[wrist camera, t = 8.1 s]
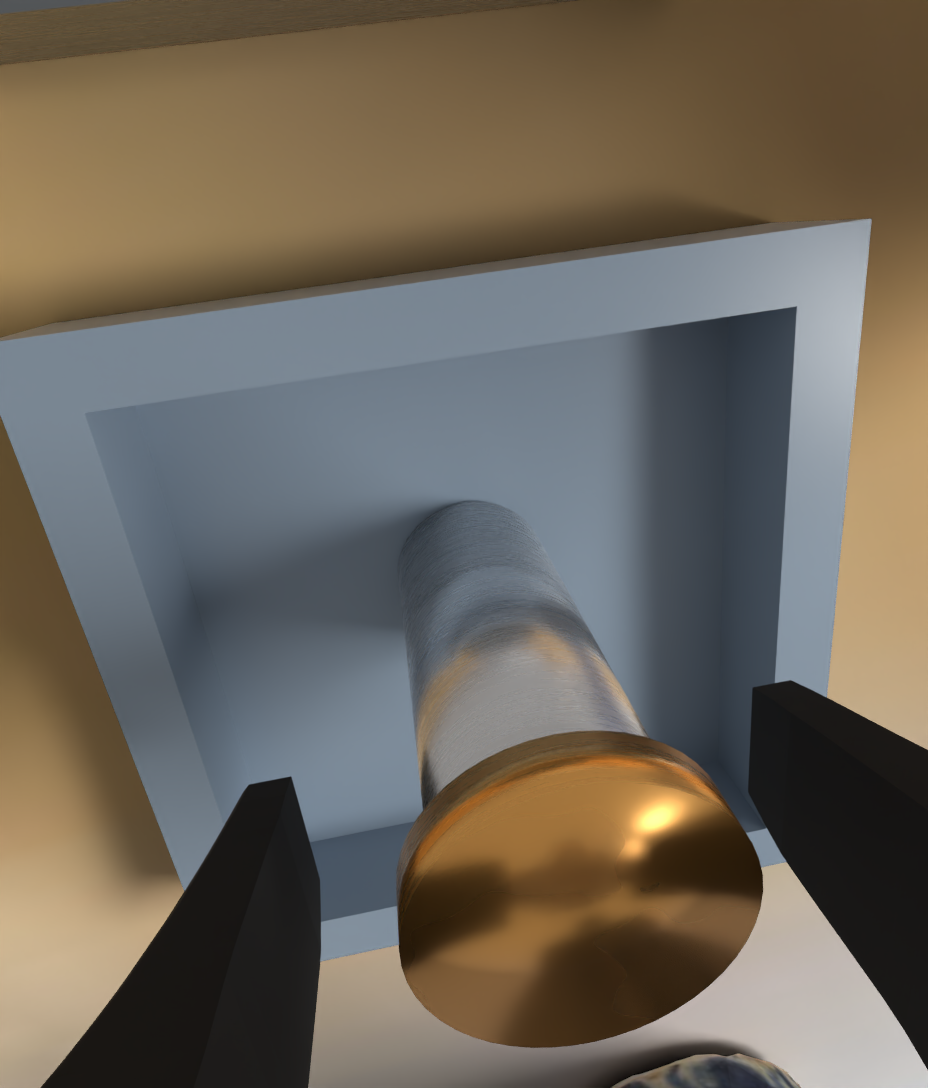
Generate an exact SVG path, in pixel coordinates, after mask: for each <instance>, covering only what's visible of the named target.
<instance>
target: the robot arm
mask: <svg viewBox="0 0 928 1088" xmlns="http://www.w3.org/2000/svg"><path fill="white" fill-rule="evenodd" d="M748 793H749V795H750V797H751V799H752V801H753V803H754V805H755V807H756V809H757V810H758V812H759V814H760V816H761V818H762V820H763V822H764V824H765V826H766V828H767V829H768V831H769V833H770V835H771V837H772V838H773V840H774V842H775V844H776V845H777V847H778V849H779V851H780V853H781V854H782V856H783V857H784V859H785V860H786V862H787V863H788V864H789V866H790V867H791V869H792V870H793V872H794V873H795V875H796V876H797V877H798V879H799V880H800V882H801V883H802V885H803V886H804V887H805V889H806V890H807V892H808V893H809V895H810V896H811V897H812V899H813V900H814V902H815V903H816V905H817V906H818V907H819V909H820V910H821V912H822V913H823V914H824V916H825V917H826V919H827V920H828V921H829V923H830V924H831V926H832V927H833V928H834V930H835V931H836V933H837V934H838V935H839V937H840V938H841V940H842V941H843V942H844V944H845V945H846V947H847V948H848V949H849V951H850V952H851V954H852V955H853V956H854V958H855V959H856V961H857V962H858V963H859V965H860V966H861V968H862V969H863V970H864V972H865V973H866V975H867V976H868V977H869V979H870V980H871V982H872V983H873V984H874V986H875V987H876V989H877V990H878V991H879V993H880V994H881V996H882V997H883V999H884V1000H885V1002H886V1003H887V1005H888V1006H889V1008H890V1009H891V1011H892V1012H893V1014H894V1015H895V1017H896V1018H897V1020H898V1021H899V1023H900V1024H901V1026H902V1027H903V1029H904V1030H905V1032H906V1034H907V1035H908V1037H909V1039H910V1041H911V1042H912V1044H913V1046H914V1047H915V1049H916V1051H917V1052H918V1054H919V1056H920V1057H921V1059H922V1061H923V1063H924V1064H925V1066H926V1068H927V1069H928V750H927V749H925V748H923V747H921V746H919V745H917V744H915V743H913V742H911V741H909V740H907V739H905V738H903V737H901V736H899V735H897V734H895V733H893V732H891V731H889V730H888V729H886V728H884V727H882V726H880V725H878V724H876V723H874V722H872V721H870V720H868V719H867V718H865V717H863V716H861V715H859V714H857V713H855V712H853V711H851V710H849V709H847V708H846V707H844V706H842V705H840V704H838V703H836V702H834V701H832V700H830V699H828V698H826V697H825V696H823V695H821V694H819V693H817V692H815V691H813V690H811V689H809V688H807V687H805V686H802V685H800V684H798V683H796V682H794V681H792V680H788V681H783V682H778V683H773V684H768V685H762V686H757V687H752V710H751V732H750V755H749V778H748ZM320 958H321V896H320V877H319V874H318V870H317V866H316V863H315V859H314V856H313V852H312V848H311V845H310V841H309V838H308V834H307V831H306V827H305V823H304V820H303V816H302V813H301V809H300V806H299V802H298V798H297V795H296V791H295V788H294V784H293V780H292V777H291V776H290V777H285V778H280V779H275V780H269V781H264V782H259V783H254V784H249V785H248V786H247V788H246V789H245V790H244V792H243V793H242V795H241V797H240V798H239V800H238V802H237V804H236V805H235V807H234V809H233V811H232V813H231V814H230V816H229V818H228V820H227V821H226V823H225V825H224V827H223V828H222V830H221V832H220V834H219V835H218V837H217V839H216V841H215V842H214V844H213V846H212V847H211V849H210V851H209V852H208V854H207V856H206V857H205V859H204V861H203V862H202V864H201V866H200V867H199V869H198V871H197V872H196V874H195V875H194V877H193V879H192V880H191V882H190V883H189V885H188V887H187V888H186V890H185V891H184V893H183V895H182V896H181V898H180V899H179V901H178V903H177V904H176V906H175V907H174V909H173V911H172V912H171V914H170V915H169V917H168V918H167V920H166V921H165V923H164V924H163V926H162V927H161V929H160V930H159V932H158V933H157V935H156V936H155V937H154V939H153V940H152V942H151V943H150V945H149V946H148V948H147V949H146V951H145V952H144V953H143V955H142V956H141V958H140V959H139V961H138V962H137V964H136V965H135V966H134V968H133V969H132V971H131V972H130V974H129V975H128V977H127V978H126V979H125V981H124V982H123V984H122V985H121V986H120V988H119V989H118V990H117V992H116V993H115V994H114V996H113V997H112V999H111V1000H110V1001H109V1003H108V1004H107V1005H106V1007H105V1008H104V1009H103V1011H102V1012H101V1013H100V1015H99V1016H98V1017H97V1018H96V1020H95V1021H94V1022H93V1024H92V1025H91V1026H90V1028H89V1029H88V1030H87V1031H86V1033H85V1034H84V1035H83V1036H82V1038H81V1039H80V1040H79V1041H78V1043H77V1044H76V1045H75V1046H74V1048H73V1049H72V1050H71V1051H70V1053H69V1054H68V1055H67V1056H66V1058H65V1059H64V1060H63V1061H62V1063H61V1064H60V1065H59V1066H58V1068H57V1069H56V1070H55V1071H54V1072H53V1074H52V1075H51V1076H50V1077H49V1078H48V1079H47V1081H46V1082H45V1083H44V1084H43V1085H42V1086H41V1088H308V1083H309V1073H310V1063H311V1052H312V1042H313V1032H314V1022H315V1012H316V1001H317V991H318V980H319V970H320Z"/></svg>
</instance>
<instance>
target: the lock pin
mask: <svg viewBox="0 0 928 1088" xmlns="http://www.w3.org/2000/svg"><path fill="white" fill-rule="evenodd" d="M398 580H399V590H400V599H401V608H402V618H403V627H404V637H405V646H406V655H407V665H408V674H409V684H410V693H411V702H412V712H413V721H414V731H415V740H416V749H417V759H418V768H419V778H420V787H421V796H422V806H423V811H422V812H421V814H420V815H419V816H418V817H417V819H416V821H415V822H414V824H413V826H412V828H411V829H410V831H409V833H408V834H407V837H406V839H405V842H404V844H403V847H402V849H401V852H400V856H399V861H398V865H397V870H396V899H397V918H398V937H399V952H400V959H401V966H402V969H403V972H404V975H405V978H406V980H407V983H408V985H409V986H410V988H411V990H412V991H413V993H414V995H415V996H416V998H417V999H418V1000H419V1001H420V1002H421V1003H422V1005H423V1006H424V1007H425V1008H426V1009H427V1010H428V1011H429V1012H431V1013H432V1014H433V1015H434V1016H435V1017H437V1018H438V1019H439V1020H440V1021H442V1022H444V1023H445V1024H447V1025H449V1026H450V1027H452V1028H454V1029H455V1030H458V1031H460V1032H462V1033H465V1034H467V1035H469V1036H472V1037H475V1038H478V1039H481V1040H485V1041H488V1042H492V1043H497V1044H503V1045H508V1046H518V1047H530V1048H540V1047H562V1046H572V1045H578V1044H584V1043H590V1042H595V1041H599V1040H603V1039H606V1038H610V1037H614V1036H617V1035H620V1034H623V1033H626V1032H629V1031H632V1030H635V1029H637V1028H640V1027H642V1026H644V1025H646V1024H649V1023H651V1022H653V1021H656V1020H658V1019H659V1018H661V1017H663V1016H665V1015H667V1014H669V1013H670V1012H672V1011H674V1010H676V1009H677V1008H679V1007H681V1006H682V1005H684V1004H685V1003H687V1002H688V1001H690V1000H691V999H693V998H694V997H695V996H697V995H698V994H699V993H700V992H702V991H703V990H704V989H705V988H707V987H708V986H709V985H710V984H711V983H712V982H713V981H714V980H716V979H717V978H718V977H719V976H720V975H721V974H722V973H723V972H724V971H725V970H726V968H727V967H728V966H729V965H730V964H731V962H732V961H733V960H734V959H735V958H736V957H737V955H738V954H739V952H740V951H741V949H742V948H743V946H744V945H745V943H746V942H747V940H748V938H749V936H750V934H751V932H752V930H753V928H754V925H755V923H756V920H757V917H758V914H759V911H760V907H761V900H762V894H763V875H762V870H761V865H760V861H759V857H758V855H757V853H756V850H755V848H754V846H753V843H752V842H751V840H750V839H749V837H748V835H747V834H746V832H745V831H744V829H743V827H742V826H741V824H740V823H739V821H738V820H737V818H736V816H735V815H734V813H733V812H732V810H731V808H730V807H729V805H728V804H727V802H726V800H725V799H724V797H723V796H722V794H721V792H720V791H719V789H718V788H717V786H716V785H715V783H714V782H713V780H712V779H711V778H710V776H709V775H708V774H707V773H706V772H705V771H704V770H703V769H702V768H701V767H700V766H699V765H698V764H697V763H696V762H695V761H693V760H692V759H691V758H689V757H688V756H686V755H685V754H684V753H682V752H680V751H679V750H677V749H675V748H673V747H671V746H669V745H667V744H665V743H662V742H659V741H656V740H653V739H650V737H649V736H648V734H647V732H646V730H645V728H644V727H643V725H642V723H641V721H640V719H639V718H638V716H637V714H636V712H635V710H634V709H633V707H632V705H631V703H630V701H629V700H628V698H627V696H626V694H625V692H624V691H623V689H622V687H621V685H620V684H619V682H618V680H617V678H616V676H615V675H614V673H613V671H612V669H611V667H610V666H609V664H608V662H607V660H606V658H605V657H604V655H603V653H602V651H601V649H600V648H599V646H598V644H597V642H596V641H595V639H594V637H593V635H592V633H591V632H590V630H589V628H588V626H587V624H586V623H585V621H584V619H583V617H582V615H581V614H580V612H579V610H578V608H577V606H576V605H575V603H574V601H573V599H572V597H571V596H570V594H569V592H568V590H567V589H566V587H565V585H564V583H563V581H562V580H561V578H560V576H559V574H558V572H557V571H556V569H555V567H554V565H553V563H552V562H551V560H550V558H549V556H548V554H547V553H546V551H545V549H544V547H543V545H542V544H541V542H540V540H539V538H538V537H537V535H536V533H535V532H534V530H533V529H532V527H531V526H530V525H529V524H528V523H527V522H526V520H525V519H523V518H522V517H521V516H520V515H518V514H517V513H515V512H514V511H512V510H510V509H508V508H506V507H504V506H501V505H498V504H494V503H490V502H483V501H470V502H461V503H457V504H453V505H450V506H447V507H444V508H442V509H440V510H438V511H436V512H434V513H433V514H431V515H430V516H428V517H427V518H425V519H424V520H423V521H422V522H421V523H420V524H419V525H418V526H417V527H416V528H415V529H414V530H413V531H412V533H411V534H410V536H409V537H408V539H407V540H406V542H405V544H404V546H403V548H402V551H401V554H400V558H399V564H398Z"/></svg>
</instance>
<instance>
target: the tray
mask: <svg viewBox="0 0 928 1088" xmlns="http://www.w3.org/2000/svg"><path fill="white" fill-rule="evenodd" d="M871 222H872V219H848V220H822V221H796V222H773V223H766V224H759V225H751V226H744V227H737V228H730V229H723V230H716V231H708V232H701V233H694V234H687V235H680V236H673V237H665V238H658V239H651V240H644V241H637V242H630V243H622V244H615V245H608V246H601V247H594V248H587V249H580V250H572V251H565V252H558V253H551V254H544V255H537V256H529V257H522V258H515V259H508V260H501V261H494V262H486V263H479V264H472V265H465V266H458V267H451V268H444V269H436V270H429V271H422V272H415V273H408V274H401V275H393V276H386V277H379V278H372V279H365V280H358V281H350V282H343V283H336V284H329V285H322V286H315V287H307V288H300V289H293V290H286V291H279V292H272V293H265V294H257V295H250V296H243V297H236V298H229V299H222V300H214V301H207V302H200V303H193V304H186V305H179V306H171V307H164V308H157V309H150V310H143V311H136V312H128V313H121V314H114V315H107V316H100V317H93V318H86V319H78V320H71V321H64V322H57V323H50V324H47V325H43V326H40V327H36V328H33V329H29V330H25V331H22V332H18V333H15V334H11V335H8V336H4V337H0V416H1V418H2V421H3V423H4V426H5V429H6V431H7V434H8V436H9V439H10V442H11V444H12V447H13V449H14V452H15V454H16V457H17V460H18V462H19V465H20V467H21V470H22V473H23V475H24V478H25V480H26V483H27V486H28V488H29V491H30V493H31V496H32V498H33V501H34V504H35V506H36V509H37V511H38V514H39V517H40V519H41V522H42V524H43V527H44V530H45V532H46V535H47V537H48V540H49V542H50V545H51V548H52V550H53V553H54V555H55V558H56V561H57V563H58V566H59V568H60V571H61V574H62V576H63V579H64V581H65V584H66V586H67V589H68V592H69V594H70V597H71V599H72V602H73V605H74V607H75V610H76V612H77V615H78V617H79V620H80V623H81V625H82V628H83V630H84V633H85V636H86V638H87V641H88V643H89V646H90V649H91V651H92V654H93V656H94V659H95V661H96V664H97V667H98V669H99V672H100V674H101V677H102V680H103V682H104V685H105V687H106V690H107V693H108V695H109V698H110V700H111V703H112V705H113V708H114V711H115V713H116V716H117V718H118V721H119V724H120V726H121V729H122V731H123V734H124V737H125V739H126V742H127V744H128V747H129V749H130V752H131V755H132V757H133V760H134V762H135V765H136V768H137V770H138V773H139V775H140V778H141V781H142V783H143V786H144V788H145V791H146V793H147V796H148V799H149V801H150V804H151V806H152V809H153V812H154V814H155V817H156V819H157V822H158V824H159V827H160V830H161V832H162V835H163V837H164V840H165V843H166V845H167V848H168V850H169V853H170V856H171V858H172V861H173V863H174V866H175V868H176V871H177V874H178V876H179V879H180V881H181V884H182V887H183V889H184V891H185V890H186V888H187V887H188V885H189V883H190V882H191V880H192V879H193V877H194V875H195V874H196V872H197V871H198V869H199V867H200V866H201V864H202V862H203V861H204V859H205V857H206V856H207V854H208V852H209V851H210V849H211V847H212V846H213V844H214V842H215V841H216V839H217V837H218V835H219V834H220V832H221V830H222V828H223V827H224V825H225V823H226V821H227V820H228V818H229V816H230V814H231V813H232V811H233V809H234V807H235V805H236V804H237V802H238V800H239V798H240V797H241V795H242V793H243V792H244V790H245V789H246V788H247V786H248V785H249V784H254V783H259V782H264V781H269V780H275V779H280V778H285V777H290V776H291V777H292V780H293V784H294V788H295V791H296V795H297V798H298V802H299V806H300V809H301V813H302V816H303V820H304V823H305V827H306V831H307V834H308V838H309V841H310V845H311V848H312V852H313V856H314V859H315V863H316V866H317V870H318V874H319V877H320V896H321V958H320V961H325V960H330V959H334V958H339V957H344V956H348V955H353V954H358V953H362V952H367V951H372V950H376V949H381V948H386V947H391V946H395V945H399V937H398V918H397V899H396V870H397V865H398V861H399V856H400V852H401V849H402V847H403V844H404V842H405V839H406V837H407V834H408V833H409V831H410V829H411V828H412V826H413V824H414V822H415V821H416V819H417V817H418V816H419V815H420V814H421V812H422V811H423V806H422V796H421V787H420V778H419V768H418V759H417V749H416V740H415V731H414V721H413V712H412V702H411V693H410V684H409V674H408V665H407V655H406V646H405V637H404V627H403V618H402V608H401V599H400V590H399V580H398V564H399V558H400V554H401V551H402V548H403V546H404V544H405V542H406V540H407V539H408V537H409V536H410V534H411V533H412V531H413V530H414V529H415V528H416V527H417V526H418V525H419V524H420V523H421V522H422V521H423V520H424V519H425V518H427V517H428V516H430V515H431V514H433V513H434V512H436V511H438V510H440V509H442V508H444V507H447V506H450V505H453V504H457V503H461V502H470V501H483V502H490V503H494V504H498V505H501V506H504V507H506V508H508V509H510V510H512V511H514V512H515V513H517V514H518V515H520V516H521V517H522V518H523V519H525V520H526V522H527V523H528V524H529V525H530V526H531V527H532V529H533V530H534V532H535V533H536V535H537V537H538V538H539V540H540V542H541V544H542V545H543V547H544V549H545V551H546V553H547V554H548V556H549V558H550V560H551V562H552V563H553V565H554V567H555V569H556V571H557V572H558V574H559V576H560V578H561V580H562V581H563V583H564V585H565V587H566V589H567V590H568V592H569V594H570V596H571V597H572V599H573V601H574V603H575V605H576V606H577V608H578V610H579V612H580V614H581V615H582V617H583V619H584V621H585V623H586V624H587V626H588V628H589V630H590V632H591V633H592V635H593V637H594V639H595V641H596V642H597V644H598V646H599V648H600V649H601V651H602V653H603V655H604V657H605V658H606V660H607V662H608V664H609V666H610V667H611V669H612V671H613V673H614V675H615V676H616V678H617V680H618V682H619V684H620V685H621V687H622V689H623V691H624V692H625V694H626V696H627V698H628V700H629V701H630V703H631V705H632V707H633V709H634V710H635V712H636V714H637V716H638V718H639V719H640V721H641V723H642V725H643V727H644V728H645V730H646V732H647V734H648V736H649V737H650V739H653V740H656V741H659V742H662V743H665V744H667V745H669V746H671V747H673V748H675V749H677V750H679V751H680V752H682V753H684V754H685V755H686V756H688V757H689V758H691V759H692V760H693V761H695V762H696V763H697V764H698V765H699V766H700V767H701V768H702V769H703V770H704V771H705V772H706V773H707V774H708V775H709V776H710V778H711V779H712V780H713V782H714V783H715V785H716V786H717V788H718V789H719V791H720V792H721V794H722V796H723V797H724V799H725V800H726V802H727V804H728V805H729V807H730V808H731V810H732V812H733V813H734V815H735V816H736V818H737V820H738V821H739V823H740V824H741V826H742V827H743V829H744V831H745V832H746V834H747V835H748V837H749V839H750V840H751V842H752V843H753V846H754V848H755V850H756V853H757V855H758V857H759V861H760V865H761V867H765V866H770V865H774V864H779V863H784V862H786V860H785V859H784V857H783V856H782V854H781V853H780V851H779V849H778V847H777V845H776V844H775V842H774V840H773V838H772V837H771V835H770V833H769V831H768V829H767V828H766V826H765V824H764V822H763V820H762V818H761V816H760V814H759V812H758V810H757V809H756V807H755V805H754V803H753V801H752V799H751V797H750V795H749V793H748V778H749V755H750V732H751V710H752V687H757V686H762V685H768V684H773V683H778V682H783V681H788V680H792V681H794V682H796V683H798V684H800V685H802V686H805V687H807V688H809V689H811V690H813V691H815V692H817V693H819V694H821V695H823V696H825V697H826V698H827V690H828V679H829V668H830V658H831V647H832V637H833V626H834V615H835V605H836V594H837V583H838V573H839V562H840V552H841V541H842V530H843V520H844V509H845V498H846V488H847V477H848V467H849V456H850V445H851V435H852V424H853V413H854V403H855V392H856V382H857V371H858V360H859V350H860V339H861V328H862V318H863V307H864V297H865V286H866V275H867V265H868V254H869V243H870V233H871Z"/></svg>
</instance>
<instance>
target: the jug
mask: <svg viewBox="0 0 928 1088" xmlns="http://www.w3.org/2000/svg"><path fill="white" fill-rule="evenodd" d="M612 1088H801V1087H800V1085H799V1084H798V1083H796V1082H795V1081H794V1080H793V1079H792V1078H791V1077H790V1075H789V1074H788V1073H787V1072H786V1071H784V1070H783V1069H781V1068H779V1067H778V1066H776V1065H774V1064H773V1063H771V1062H767V1061H763V1060H760V1059H756V1058H752V1057H749V1056H745V1055H742V1054H739V1053H738V1054H734V1055H731V1056H727V1057H726V1056H721V1055H717V1054H705V1055H694V1056H691V1057H688V1058H685V1059H683V1060H677V1061H675V1062H673V1063H671V1064H668V1065H665V1066H662V1067H660V1068H657V1069H654V1070H651V1071H648V1072H645V1073H642V1074H638V1075H632V1076H631V1077H629V1078H627V1079H625V1080H623V1081H621V1082H619V1083H617V1084H616V1085H614V1086H613V1087H612Z"/></svg>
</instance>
